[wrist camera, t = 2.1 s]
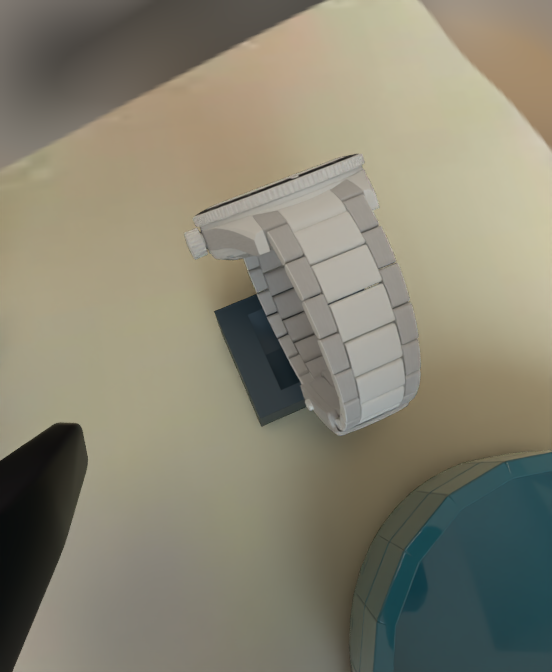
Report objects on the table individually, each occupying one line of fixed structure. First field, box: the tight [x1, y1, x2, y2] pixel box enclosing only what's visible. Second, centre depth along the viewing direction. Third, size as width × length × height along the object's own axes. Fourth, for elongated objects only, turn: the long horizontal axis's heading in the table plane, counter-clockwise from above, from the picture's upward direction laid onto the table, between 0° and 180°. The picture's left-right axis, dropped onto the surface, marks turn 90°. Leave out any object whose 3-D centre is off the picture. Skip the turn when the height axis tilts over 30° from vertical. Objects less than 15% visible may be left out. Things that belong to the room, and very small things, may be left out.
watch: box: [184, 154, 421, 436], centre depth 16 cm, size 6×8×11 cm
